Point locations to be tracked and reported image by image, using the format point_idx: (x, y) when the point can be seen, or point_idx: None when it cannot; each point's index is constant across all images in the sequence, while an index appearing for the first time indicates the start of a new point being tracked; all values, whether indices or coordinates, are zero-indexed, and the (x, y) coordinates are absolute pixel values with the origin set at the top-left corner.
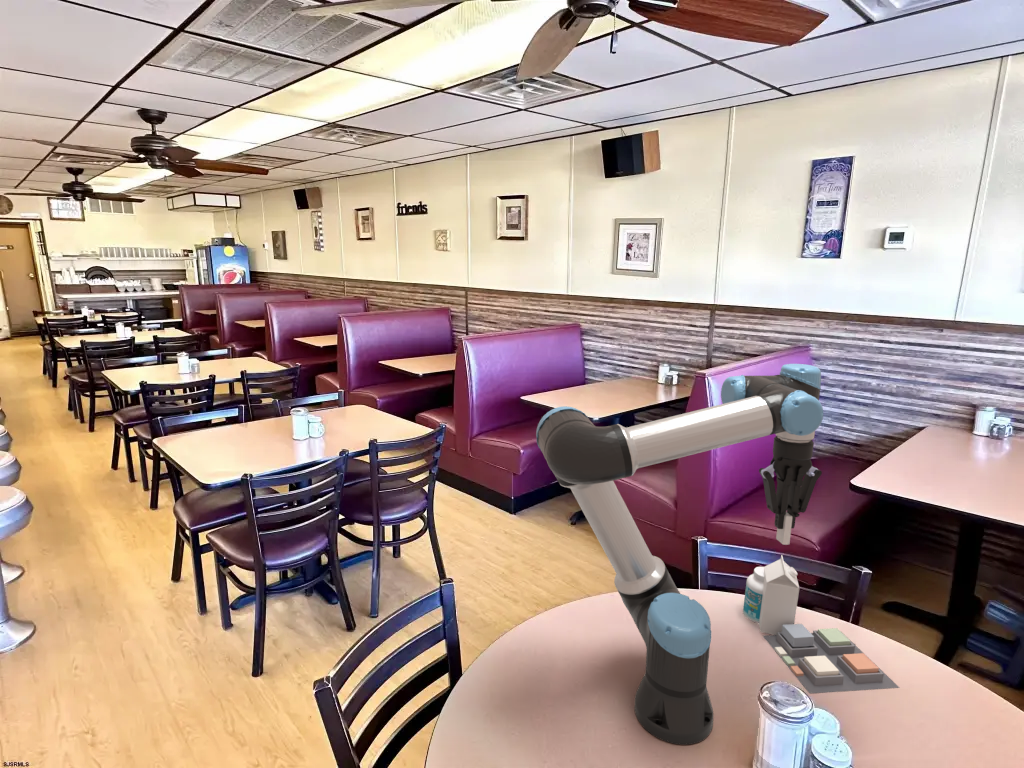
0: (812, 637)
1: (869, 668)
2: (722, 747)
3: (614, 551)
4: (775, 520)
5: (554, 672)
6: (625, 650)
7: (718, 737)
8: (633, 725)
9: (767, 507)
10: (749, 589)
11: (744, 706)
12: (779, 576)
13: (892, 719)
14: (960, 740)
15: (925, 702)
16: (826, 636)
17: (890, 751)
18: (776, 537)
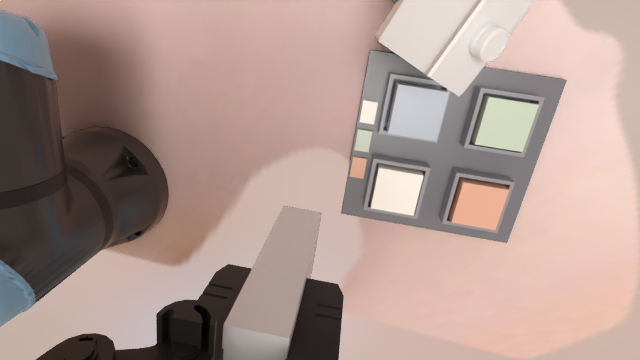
0: (432, 140)
1: (476, 226)
2: (160, 248)
3: None
4: (203, 298)
5: None
6: (69, 16)
7: (162, 234)
8: None
9: (61, 346)
10: None
11: (227, 198)
12: (411, 64)
13: (432, 275)
14: (490, 324)
15: (521, 265)
16: (483, 125)
17: (376, 310)
18: (281, 210)
